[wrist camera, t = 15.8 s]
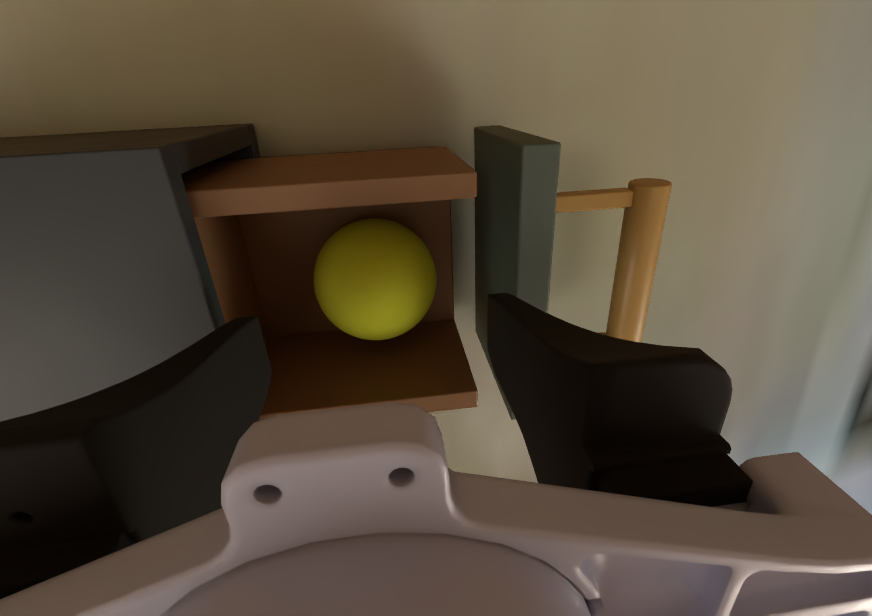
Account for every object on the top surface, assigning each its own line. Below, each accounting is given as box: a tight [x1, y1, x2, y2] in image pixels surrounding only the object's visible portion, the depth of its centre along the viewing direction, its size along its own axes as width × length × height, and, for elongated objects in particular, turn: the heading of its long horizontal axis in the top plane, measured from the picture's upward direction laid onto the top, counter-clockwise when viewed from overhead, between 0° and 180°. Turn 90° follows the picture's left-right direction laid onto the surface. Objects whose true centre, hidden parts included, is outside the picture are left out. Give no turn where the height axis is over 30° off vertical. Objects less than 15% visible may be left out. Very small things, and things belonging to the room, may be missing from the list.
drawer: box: [181, 126, 672, 421], centre depth 18 cm, size 17×10×7 cm, turn 93°
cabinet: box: [0, 124, 260, 422], centre depth 17 cm, size 14×12×9 cm
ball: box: [313, 219, 436, 340], centre depth 18 cm, size 5×5×5 cm
